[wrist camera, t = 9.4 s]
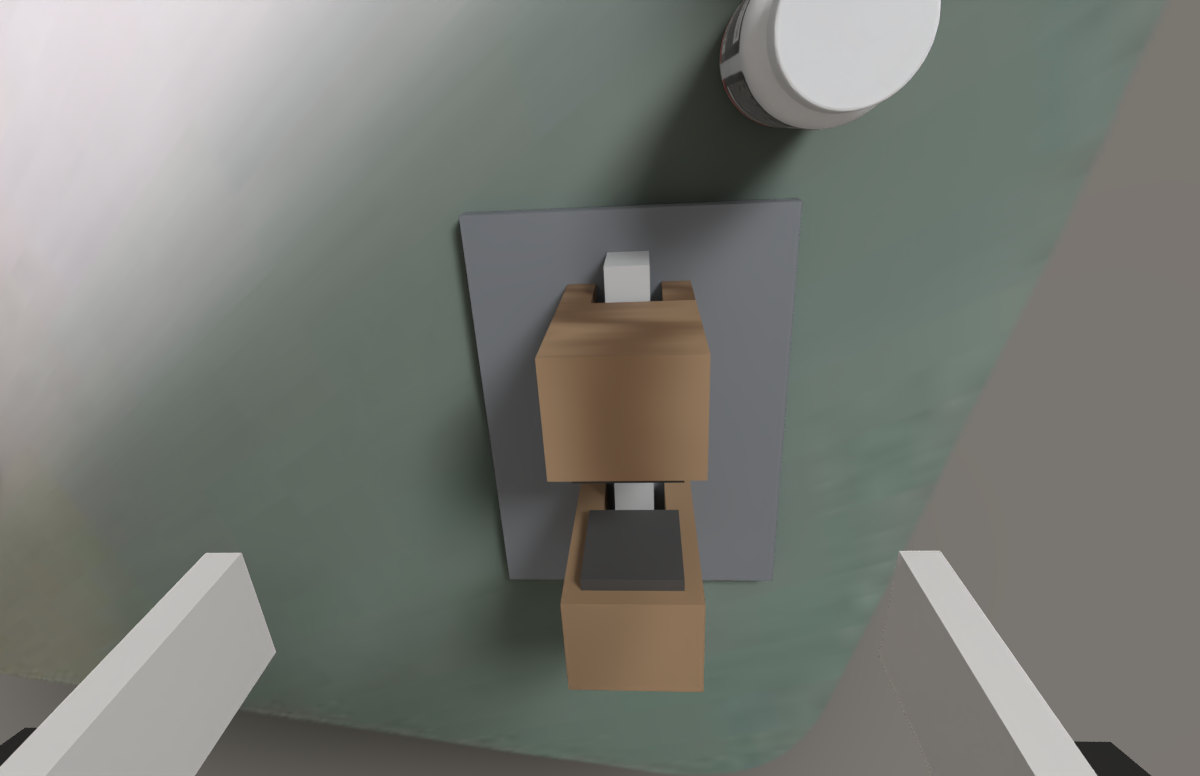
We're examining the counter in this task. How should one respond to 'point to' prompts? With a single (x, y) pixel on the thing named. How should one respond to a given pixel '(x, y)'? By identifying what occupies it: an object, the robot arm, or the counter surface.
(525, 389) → the rail
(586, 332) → the notched tan block
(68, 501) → the counter surface
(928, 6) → the pill bottle
